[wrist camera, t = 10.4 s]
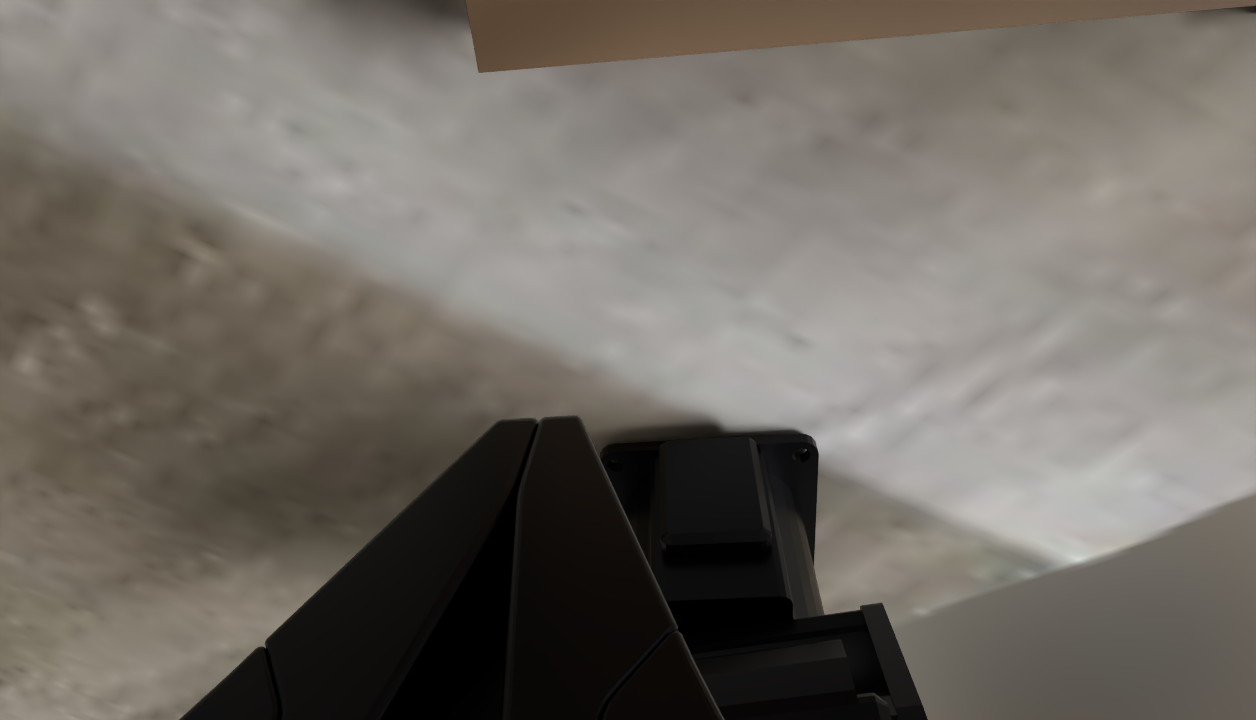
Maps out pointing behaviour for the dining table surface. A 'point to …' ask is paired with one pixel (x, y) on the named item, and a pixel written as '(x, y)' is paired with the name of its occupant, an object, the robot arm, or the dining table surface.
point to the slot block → (751, 24)
